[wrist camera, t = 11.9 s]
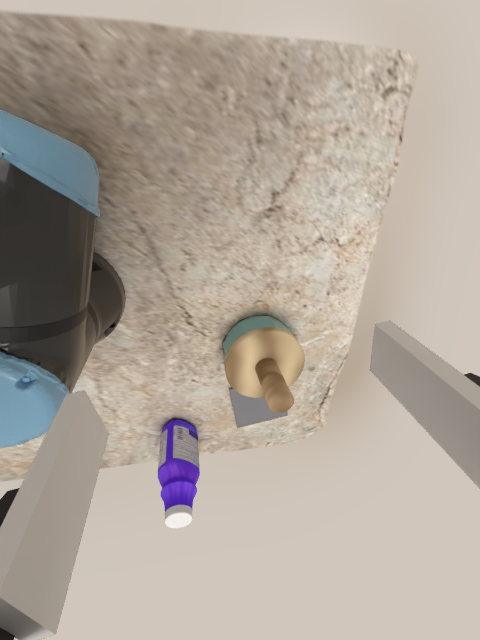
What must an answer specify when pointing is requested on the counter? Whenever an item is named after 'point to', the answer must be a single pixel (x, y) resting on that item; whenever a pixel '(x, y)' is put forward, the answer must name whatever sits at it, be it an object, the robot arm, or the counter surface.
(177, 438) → the bottle
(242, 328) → the bowl
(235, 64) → the counter surface
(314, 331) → the counter surface
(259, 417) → the mat
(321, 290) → the counter surface
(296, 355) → the lid
